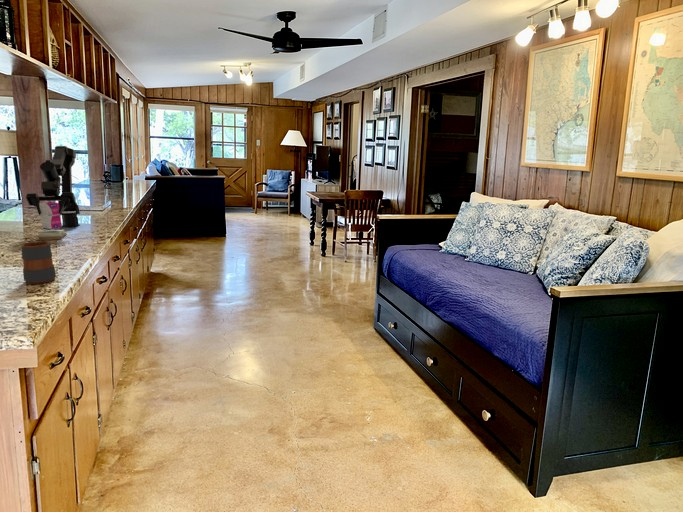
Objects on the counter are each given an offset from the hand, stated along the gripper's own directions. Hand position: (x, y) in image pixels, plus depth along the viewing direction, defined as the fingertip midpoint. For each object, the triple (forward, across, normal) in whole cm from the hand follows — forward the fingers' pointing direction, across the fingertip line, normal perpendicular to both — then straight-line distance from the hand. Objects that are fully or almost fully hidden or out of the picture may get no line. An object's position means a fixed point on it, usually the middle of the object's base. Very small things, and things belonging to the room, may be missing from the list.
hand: (49, 213), depth 228 cm
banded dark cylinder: (+61, +14, -46) cm, 78 cm away
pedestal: (+7, 0, +8) cm, 11 cm away
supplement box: (+4, 0, +6) cm, 7 cm away
